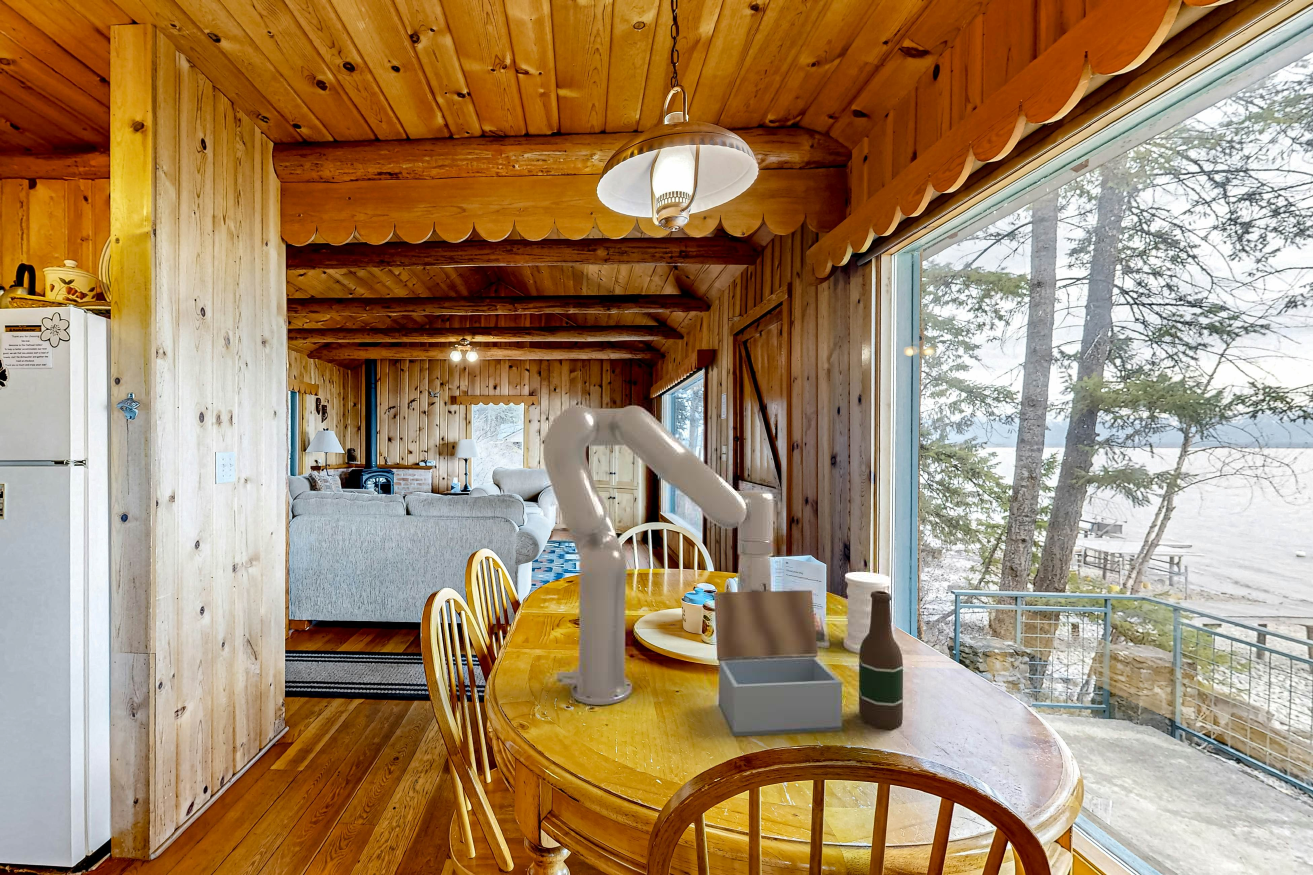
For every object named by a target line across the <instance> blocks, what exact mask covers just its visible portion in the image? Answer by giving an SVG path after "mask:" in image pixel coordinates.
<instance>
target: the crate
mask: <svg viewBox="0 0 1313 875" xmlns="http://www.w3.org/2000/svg"><path fill="white" fill-rule="evenodd" d="M718 706H719V708H720V710H721V713H722V715H723V717H724V719H725V721H726V724H727V725H728V728H729V729H730V732H731V733H732V735H733V737H735V738H737V737H752V736H771V735H786V734H787V735H789V734H808V733H824V732H826V733H827V732H842V731H843V681H842V680H841V679H840V678H838V677H837V676H836V674H834V673H833V672H832V671H831V669H829V668H828V667H827V666H826V665H825V664H824V663H823V662H822V660H820V659H819V658H818V657H793V658H766V659H740V660H718Z"/></svg>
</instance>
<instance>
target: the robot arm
mask: <svg viewBox="0 0 1313 875" xmlns="http://www.w3.org/2000/svg"><path fill="white" fill-rule="evenodd" d="M544 437H545V438H544V442H543V447H542V448H543V452H542V455H543V462H544V463H543V464H544V467H545V470H546V474H547V475H548V479H549V482H550V485H551V488H552V490H553V493H554V497H555V499H556V501H557V503H558V504H557V505H558V507H559V509H560V513H561V518H562V521H563V525H564V526H565V527H566V529H567V530H568V531H569V534H570V537H571V539H572V542H573V545H574V547H575V549H576V552H577V554H578V557H579V568H578V569H579V572H578V573H579V574H578V575H579V576H578V578H579V584H578V586H579V595H578V596H579V598H578V599H579V602H578V603H579V606H578V609H579V610H578V611H579V612H578V618H579V619H578V620H579V626H578V627H579V628H578V632H579V633H578V634H579V636H578V665H577V669H572V671H570V672H568V671H567V672H566V671H557V674H556V682H557V683H561V684H562V686H563V687H566V686H571V687H570V688H571V689H570V691H571V692H570V694H571V696H572V697H573V699H574V700H577V701H578V702H580V703H583V704H587V705H593V706H607V705H613V704H617V703H619V702H622V701H624V700H626V699H627V698H629V697H630V695H632V692H633V683H632V682H631V681H630V680H629V679H628V678H626V677H625V676H626V671H625V670H626V669H625V668H626V666H625V665H626V662H625V660H626V659H625V658H626V590H627V589H626V588H627V576H628V575H627V574H628V570H627V568H628V567H627V558H626V556H625V551H624V550H623V548H622V545H621V542H620V541H619V539H618V535H617V533H616V531H615V528H614V525H613V522H612V519H611V517H610V514H609V513H608V509H607V506H606V503H605V500H604V498H603V497H602V496H601V495H600V493H599V490H598V488H597V486H596V483H595V480H594V477H593V474H592V472H591V469H590V466H589V463H588V460H587V455H586V451H587V447H589V446H590V447H592V446H593V447H594V446H595V447H596V446H599V447H602V446H603V447H605V446H607V447H608V446H609V447H611V446H613V447H615V446H617V447H618V446H625V447H626V448H627V449H629V451H631V452H632V453H633V454H634V455H635V456H636V457H637V458H638V459H640V460H641V461H642V462H643V463H644V464H645V465H646V466H647V467H649V469H650V470H652V471H653V472H654V473H655V474H656V475H657V476H658V477H659V478H660V479H661V480H663V481H664V482H665V483H667V484H668V485H670V486H671V487H673V488H675V489H676V490H678V491H679V492H680V493H682V494H683V495H684V496H686V497H687V498H688V499H689V500H690V501H692V502H693V503H694V504H695V505H696V506H698V507H699V509H701V512H702V514H703V516H704V517H705V518H706V519H707V520H708V521H710V522H711V523H713V524H715V525H717V526H718V527H721V528H723V529H729V530H730V529H735V528H737V554H738V555H739V559H738V568H737V569H738V570H737V571H738V572H737V592H760V591H772V571H771V557H773V556H774V495H773V493H771V492H770V491H767V490H762V489H749V490H748V489H747V490H741V491H740V490H735V489H734V488H733V487H732V486H730V484H729V483H728V482H727V481H725V480H724V479H723V478H722V477H721V476H720V475H718V473H716V471H715V470H713V469H712V468H711V467H709V466H708V465H707V464H706V463H705V462H703V461H702V460H701V459H700V458H699V457H698V456H697V455H695V453H693V451H691V450H690V449H689V448H688V447H687V446H685V444H684V443H683V442H682V441H680V440H679V439H678V438H677V437H676V436H675V435H673V433H671V432H670V431H669V430H668V429H667V428H666V427H665V426H664V425H663V424H662V423H661V422H660V421H659V420H657V419H656V417H654V416H653V415H652V414H651V413H650V412H649V411H647V410H646V409H645V408H643V407H641V406H640V405H639V406H638V405H628V406H625V407H623V408H621V407H620V408H591V407H588V406H586V405H581V404H575V405H571V406H569V407H567V408H565V409H564V410H562V411H561V412H560V413H559V414H558V415H557V416H556V417H555V419H554V420H553V421H552V423H551V424H550V426H549V427H548V430H547V432H546V434H545V436H544Z"/></svg>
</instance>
